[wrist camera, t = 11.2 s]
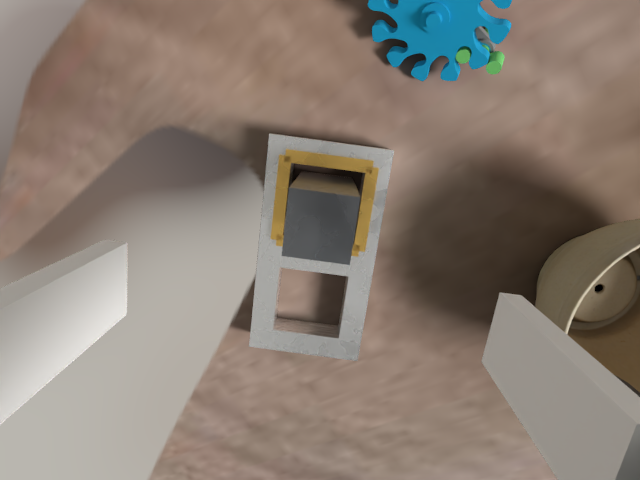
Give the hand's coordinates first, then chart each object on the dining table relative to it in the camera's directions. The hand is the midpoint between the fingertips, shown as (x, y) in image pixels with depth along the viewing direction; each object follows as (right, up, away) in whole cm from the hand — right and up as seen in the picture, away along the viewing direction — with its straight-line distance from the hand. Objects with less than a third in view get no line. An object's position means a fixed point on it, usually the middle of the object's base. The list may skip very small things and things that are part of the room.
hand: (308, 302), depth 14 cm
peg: (+1, +6, +22) cm, 22 cm away
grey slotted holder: (0, +2, +23) cm, 23 cm away
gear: (+9, +19, +18) cm, 28 cm away
